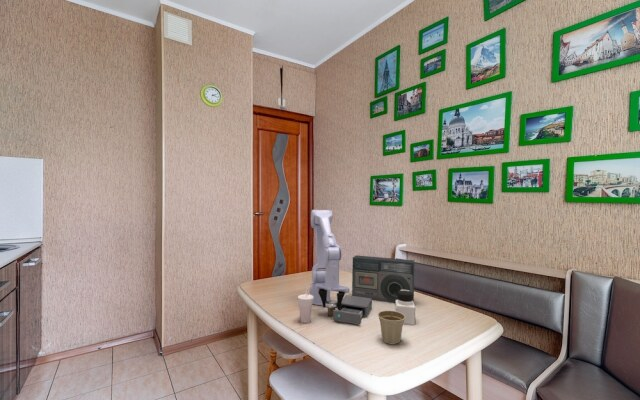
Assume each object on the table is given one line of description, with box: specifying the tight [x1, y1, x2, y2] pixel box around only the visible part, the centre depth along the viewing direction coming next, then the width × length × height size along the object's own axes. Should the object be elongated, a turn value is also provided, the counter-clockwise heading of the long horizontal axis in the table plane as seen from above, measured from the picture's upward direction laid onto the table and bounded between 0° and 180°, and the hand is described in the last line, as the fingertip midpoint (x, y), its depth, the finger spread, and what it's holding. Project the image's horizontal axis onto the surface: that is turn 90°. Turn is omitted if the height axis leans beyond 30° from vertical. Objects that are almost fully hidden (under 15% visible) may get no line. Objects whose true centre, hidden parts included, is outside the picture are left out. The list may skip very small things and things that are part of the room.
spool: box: [327, 308, 337, 318], centre depth 122 cm, size 3×3×4 cm
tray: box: [332, 306, 364, 325], centre depth 119 cm, size 12×11×4 cm
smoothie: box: [297, 285, 314, 324], centre depth 116 cm, size 6×6×14 cm
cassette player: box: [351, 254, 415, 304], centre depth 143 cm, size 29×7×20 cm, turn 68°
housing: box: [339, 294, 373, 319], centre depth 127 cm, size 12×12×4 cm
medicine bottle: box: [394, 290, 416, 326], centre depth 118 cm, size 7×7×12 cm
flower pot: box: [377, 310, 405, 345], centre depth 101 cm, size 9×9×9 cm
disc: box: [325, 299, 337, 309], centre depth 122 cm, size 6×6×2 cm
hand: (331, 308), depth 122 cm, fingers closed on disc, 6 cm apart
